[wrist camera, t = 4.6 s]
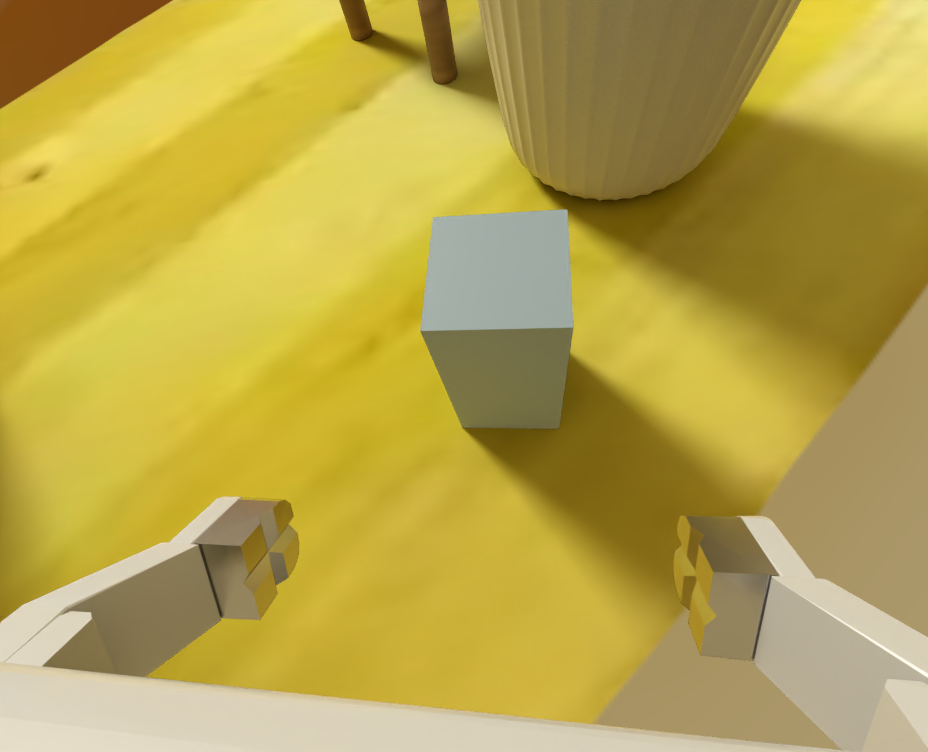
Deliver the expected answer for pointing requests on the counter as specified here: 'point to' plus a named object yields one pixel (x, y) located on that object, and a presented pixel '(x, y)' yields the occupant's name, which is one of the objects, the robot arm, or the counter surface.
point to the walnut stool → (433, 27)
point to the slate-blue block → (501, 316)
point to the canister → (624, 84)
